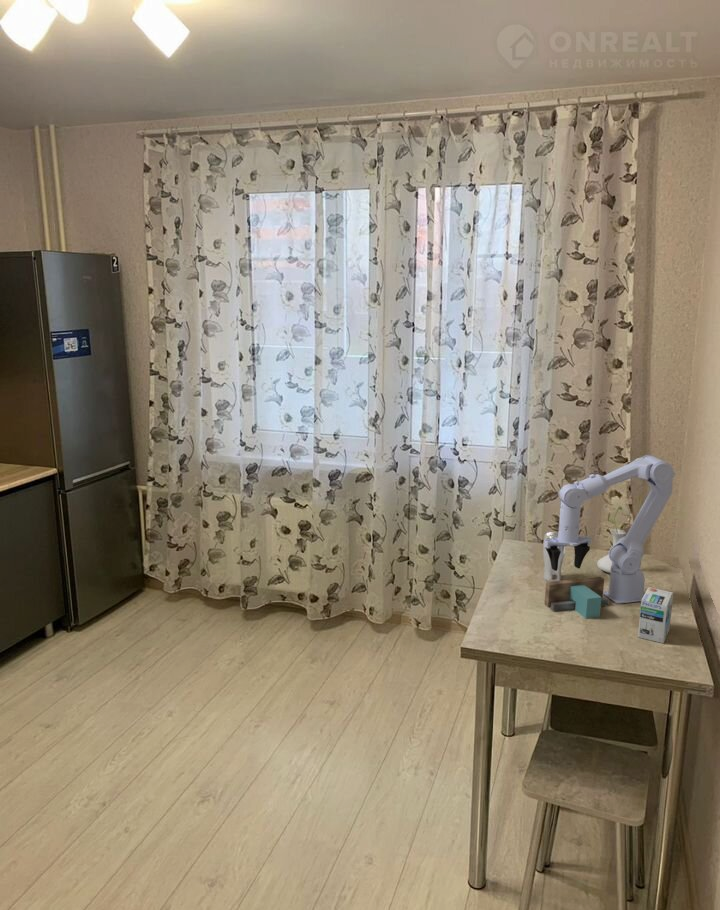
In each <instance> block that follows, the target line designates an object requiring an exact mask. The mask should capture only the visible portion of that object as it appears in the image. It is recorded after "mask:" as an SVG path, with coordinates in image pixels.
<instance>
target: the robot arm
mask: <svg viewBox="0 0 720 910" xmlns="http://www.w3.org/2000/svg"><path fill="white" fill-rule="evenodd" d="M675 475H676V473H675V471H674V469H673V466H672V465H671V464H670V463H669V462H667V461H665V460H662V459H661V458H658V457H657V456H656V455H653V454H645V455H643V456H642V457H637V458H636V459H634V460H633V461H631V462H629V463H627V464H625V465H623V466H621V467H619V468H617V469H615V470H613V471H610V472H609V473H606V474H605V475H601V474H599V473H598V474H597V473H596V474H594V473H592V474H589V475H588V477H587V478H585V479H582V480H579V481H577V480H576V481H574V482H573V484H572V483H567V484H565V485H562V487H561V488H560V490H559V491H558V493H557V494H558V495H557V496H558V498H559V500H560V509H559V520H558V521H559V522H558V532H559V533H558V537H556V538H553V539H549V540H544V539H543V541H544V546H545V548H546V550H547V552H548V555H549V558H550V561H551V567H552V569H553V570H554V571H557V569H558V560H559V556H560V553H561V551H560V550H558V548H557V547H559V546H566V547H569V546H572V547H574V548H573V549H574V550H573V551H574V559H573V560H574V563H573V564H574V565H573V566H574V567H575V568H576V569H580V568H581V566H582V563H583V562H584V558H585V557H586V556H587V554H588V553H589V551H590V550H591V549H590V548H591V546H590V545H592V538H591V537H590V536H580V535H579V534H580V521H581V520H580V519H581V508H582V506H583V504H584V502H585V501H587V500H589V499H590V500H591V499H593V498H595V497H597V496H599V495H602V494H605V493H606V492H607V491H608V489H609V487H611V486H614V485H616V484H619V483H623V482H625V481H628V480H631V479H633V478H639V479H642V480H646V481H647V483H648V486H649V488H650V491H649V493H648V495H647V496H646V498H645V500H644V502H643V504H642V506H641V508H640V509H639V511H638V513H637V515H636V517H635V518H634V520H633V522H632V523H631V526H630V527H629V529H628V531H627V532H626V534H625V535H624V536H623V537H622V538H620V539H619V541H618V542H617V543H616V544H615V545H614V546H613V545H612V547H610V548H609V551H608V554H609V558H610V560H611V561H612V565H611V572H610V573H609V584H608V585H609V586H608V590H606V591H604V590H603V596H605V597H606V598H608V599H610V600H611V601H613V602H614V603H615V604H627V603H635V602H636V603H637V602H641V600H642V598H643V596H644V592H645V591H644V590H645V574H644V572H643V571H642V569H641V565H642V559H643V556H644V544H645V542H646V540H647V539H648V537H649V535H650V533H651V531H652V530H653V528H654V526H655V524H656V523H657V520H658V519H659V517H660V516H661V513H663V510H664V508H665V506H666V505H667V503H668V502H669V500H670V497H671V496H672V494H673V486H674V485H673V484H674V477H675Z"/></svg>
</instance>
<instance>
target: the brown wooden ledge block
mask: <svg viewBox="0 0 720 910" xmlns="http://www.w3.org/2000/svg"><path fill="white" fill-rule="evenodd" d="M577 585H585V586H586V587H588V588H589V589H591V590H592V591H593V592H595V593H596V594H598V595H599V596H601V597H602V598H601V607H606V606H609V604H610V603H609V602H610V600H609V599H610V598H608V597H607V596H604V594H603V592H604V587H605V578H603V577H602V576H595V577H585V578H574V579H566V580H561V581H554V582H548V581H546V582H545V594H544V605H545V606H546V607H547V608H550V611H552V612H555V613H556V612H561V611H563V612H564V611H571V610H575V606H576V602H575V601H569V594H570V586H577Z"/></svg>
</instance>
